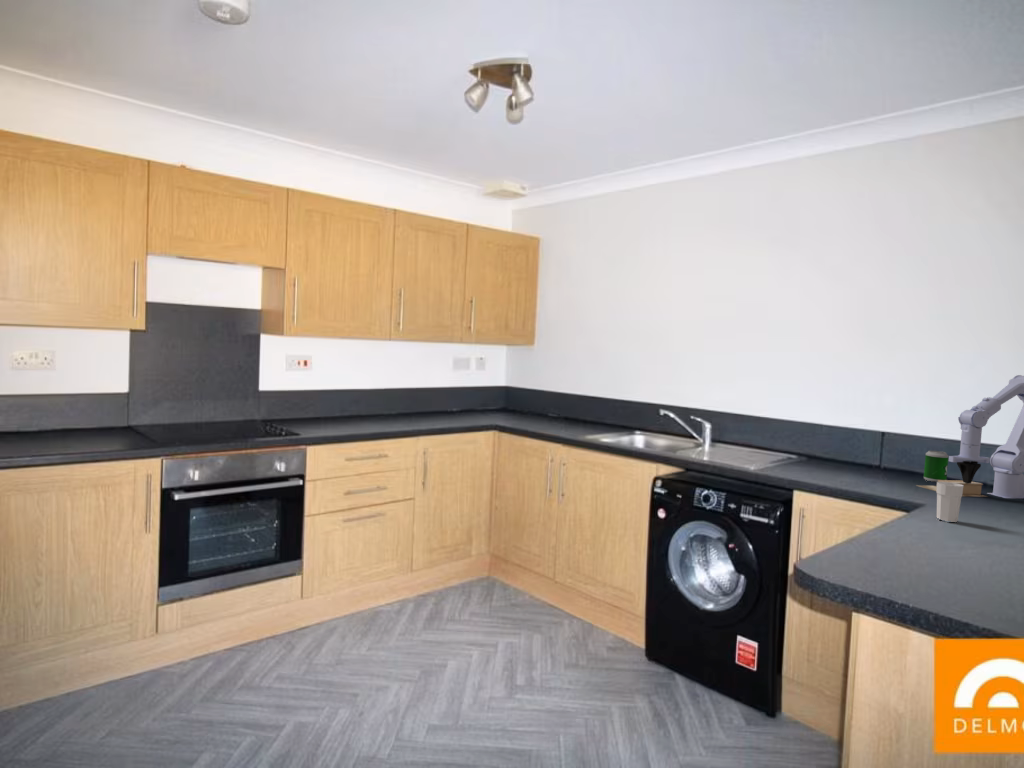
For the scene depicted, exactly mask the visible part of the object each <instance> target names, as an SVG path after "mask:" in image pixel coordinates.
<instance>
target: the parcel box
mask: <svg viewBox="0 0 1024 768" xmlns="http://www.w3.org/2000/svg"><path fill="white" fill-rule="evenodd" d="M938 482H939V481H938ZM982 487H983V485H964V487H963V494H962V495H982Z"/></svg>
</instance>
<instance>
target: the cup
mask: <svg viewBox="0 0 1024 768" xmlns="http://www.w3.org/2000/svg"><path fill="white" fill-rule="evenodd" d="M936 486H937V491H936V517H937V518H939V519H941V520H945V521H951V522H957V521H958V522H959V514H960V509H961V501H962V497H963V496H962V494H963V487H964V485H961V484H957V483H951V482H936ZM958 522H957V523H958Z"/></svg>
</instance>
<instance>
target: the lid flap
mask: <svg viewBox="0 0 1024 768" xmlns="http://www.w3.org/2000/svg"><path fill="white" fill-rule="evenodd" d="M938 481H939V482H951V483H957V484H961V485H982V486H983V485H984V484H983V483H982V482H975V481H972V482H971V483H965V482H963V479H962V480H959V479H958V480H957V479H955V480H953V479H952V480H948V479H946V480H938Z"/></svg>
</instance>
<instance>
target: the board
mask: <svg viewBox="0 0 1024 768" xmlns="http://www.w3.org/2000/svg"><path fill="white" fill-rule="evenodd" d="M915 486H916V487H919V488H923V489H926V490H930V491H934V492H937V485H920V484H919V485H918V484H916V485H915ZM962 497H980V498H983V497H985V498H986V497H987V498H988V497H989V496H987V495H983V494H981V495H962Z"/></svg>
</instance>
